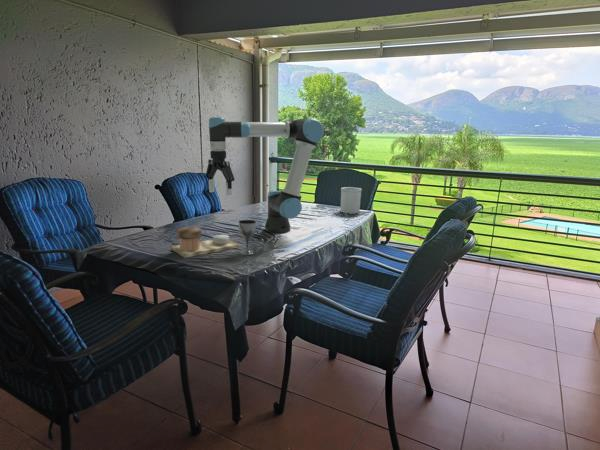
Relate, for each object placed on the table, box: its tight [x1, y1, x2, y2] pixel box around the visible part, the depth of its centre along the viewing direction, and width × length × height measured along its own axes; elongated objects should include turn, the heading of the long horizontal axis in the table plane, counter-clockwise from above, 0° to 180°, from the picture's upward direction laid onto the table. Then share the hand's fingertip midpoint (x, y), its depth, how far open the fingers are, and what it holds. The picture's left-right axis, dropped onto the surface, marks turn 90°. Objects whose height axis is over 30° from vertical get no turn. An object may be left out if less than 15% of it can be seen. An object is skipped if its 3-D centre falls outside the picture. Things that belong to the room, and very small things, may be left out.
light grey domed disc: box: [212, 234, 230, 245], centre depth 188 cm, size 8×8×3 cm
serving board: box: [171, 238, 240, 259], centre depth 184 cm, size 28×15×2 cm, turn 130°
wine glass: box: [238, 219, 257, 256], centre depth 178 cm, size 8×8×15 cm
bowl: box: [178, 237, 200, 251], centre depth 178 cm, size 9×9×6 cm
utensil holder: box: [340, 186, 363, 215], centre depth 276 cm, size 15×15×18 cm
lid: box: [176, 226, 202, 239], centre depth 177 cm, size 11×11×3 cm
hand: (220, 193), depth 189 cm, fingers open, 13 cm apart
